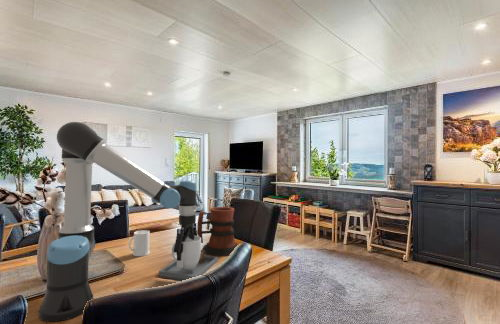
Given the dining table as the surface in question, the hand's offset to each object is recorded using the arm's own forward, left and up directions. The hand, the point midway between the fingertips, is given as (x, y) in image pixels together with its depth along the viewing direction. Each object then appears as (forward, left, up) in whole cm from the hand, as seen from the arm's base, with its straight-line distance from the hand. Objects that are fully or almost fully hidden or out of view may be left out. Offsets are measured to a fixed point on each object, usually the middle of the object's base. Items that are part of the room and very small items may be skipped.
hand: (186, 262), depth 119 cm
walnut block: (+12, 0, -4) cm, 13 cm away
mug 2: (0, 0, -2) cm, 2 cm away
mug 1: (+14, +37, -5) cm, 40 cm away
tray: (+4, 0, -5) cm, 6 cm away
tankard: (+32, -3, -5) cm, 33 cm away
